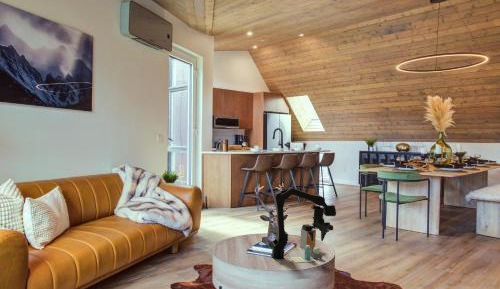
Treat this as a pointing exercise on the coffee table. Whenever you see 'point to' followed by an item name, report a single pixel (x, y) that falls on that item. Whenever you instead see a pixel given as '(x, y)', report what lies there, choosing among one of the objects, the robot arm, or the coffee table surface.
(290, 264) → the coffee table surface
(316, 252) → the button
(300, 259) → the colouring sheet
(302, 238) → the small box
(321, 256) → the frame
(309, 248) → the teal marker
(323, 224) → the robot arm
